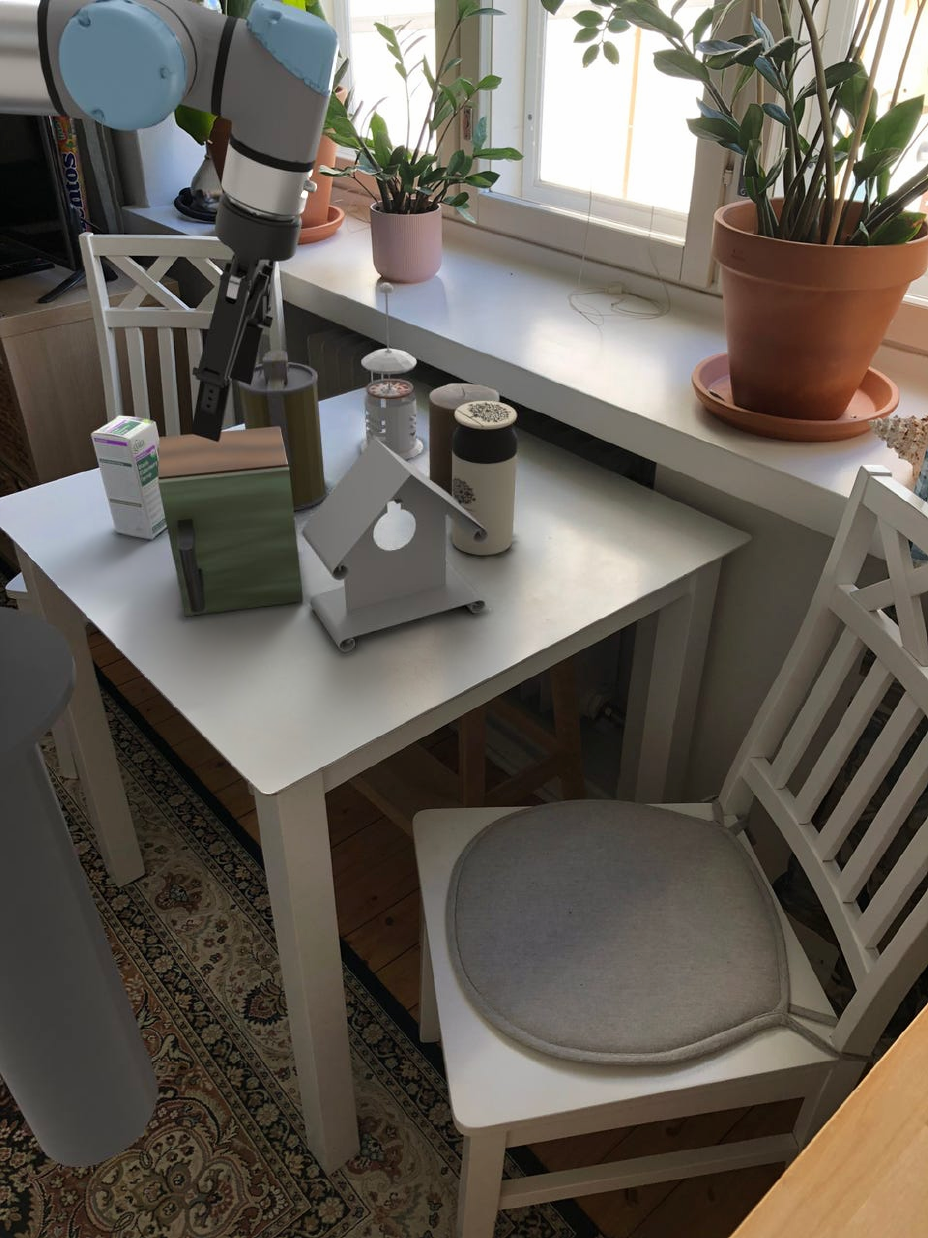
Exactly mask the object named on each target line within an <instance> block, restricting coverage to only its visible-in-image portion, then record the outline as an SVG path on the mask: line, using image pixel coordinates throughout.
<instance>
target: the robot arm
mask: <svg viewBox="0 0 928 1238" xmlns="http://www.w3.org/2000/svg"><path fill="white" fill-rule="evenodd" d="M339 51H340V40H339V37H338V33H337V32H336V30H335V29H334V28H333V26H332V25H331V24H329V23H328V22H327V21H325V20H324V19H322V18H321V17H318V16H317V15H315V14H313V13H310V12H309V11H306V10H304V9H302V8H299V7H296V6H294V5H290V4H285V3H282V2H280V1H277V0H255V1H254V2H253V3H252V5H251V8H250V11H249V14H248V15H247V16H246V19H243V18H240V17H239V18H236V17H234V16H232V15H231V16H229V15H227V14H224V13H221V12H218V11H216V10H213V9H210V8H208V7H206V6H203V5H200V4H198V3H195V2H193V1H190V0H0V114H4V115H5V114H9V115H22V116H23V115H25V116H42V117H43V116H45V117H62V118H71V119H77V120H94V121H96V122H98V123H100V124H102V125H103V126H106V127H108V128H111V129H114V130H120V131H137V130H140V129H142V130H143V129H149V128H150V129H151V128H152V127H155V126H157V125H159V124H161V123H162V122H164V121H166V119H167V118H168V117H169V116H170V115H171V114H173V113H174V112H175V110H176V109H177V107H179V105H182V106H185V107H188V108H191V109H194V110H197V111H201V112H204V113H206V114H210V115H212V116H214V117H216V118H217V117H218V118H219V119H225V120H228V121H231V131H230V134H229V139H228V145H227V150H226V155H225V161H224V167H223V172H222V177H221V188H222V191H224V192H223V193H222V194H221V195H220V196H219V200H218V205H217V206H218V208H217V213H216V218H215V225H214V232H215V235H216V237H217V239H218V241H220V242H221V243H222V244H223V245H224V246H227V248H229V249H230V250H231V251H232V252H233V255H232V257H231V261H227V262H226V263H225V267H224V270H223V271H222V274H220V276H219V285H218V290H217V297H216V300H215V304H214V309H213V310H212V311H213V312H212V316H211V319H210V322H209V327H208V330H207V334H206V337H205V341H204V345H203V349H202V353H201V356H200V360H199V364H198V367H196V366H193V368H192V376H195V379H196V381H197V380H198V381H199V385H198V390H197V391H198V392H197V397H196V403H195V409H194V415H193V420H192V427H191V431H190V434H194V435H197V436H200V437H203V438H206V439H210V440H213V441H216V442H219V440H220V437H221V432H223V426H224V422H225V416H226V410H227V407H228V402H229V401H228V400H229V396H230V391H231V385H232V380H235V381H236V382H237V381H240V382H243V383H246V384H249V385H251V383H252V381H253V376H254V371H255V366H256V365H257V361H258V356H259V351H260V347H261V343H262V337H263V333H264V328H263V327H266V328H268V329H271V326H272V325H273V321H274V317H273V316H269V313H270V312H271V310H272V298H273V291H274V290H273V289H274V282H275V274H276V273H275V272H276V265H277V262H285V261H288V260H290V259H292V258H293V257H295V254H296V251H297V248H298V243H299V239H300V234H301V229H302V224H303V220H302V218H301V215H300V214H302V213H303V212H304V211H305V208H306V204H307V199H308V195H309V193H310V194H314V193H316V191H317V189H318V187H317V183H316V182H315V181H313V180H310V178H311V177H312V175H313V172H314V168H315V164H316V160H317V156H318V151H319V147H320V142H321V139H322V134H323V129H324V126H325V121H326V117H327V113H328V109H329V105H330V101H331V96H332V91H333V85H334V80H335V73H336V67H337V62H338V57H339ZM261 326H263V327H261Z"/></svg>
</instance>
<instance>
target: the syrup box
mask: <svg viewBox="0 0 928 1238" xmlns="http://www.w3.org/2000/svg"><path fill="white" fill-rule="evenodd" d="M90 437H91V440H92V444H93V448H94V452H95V456H96V459H97V460H96V461H97V463H98V467H99V472H100V475H101V479H102V483H103V487H104V490H105V495H106V498H107V501H108V505H109V510H110V514H111V517H112V521H113V526H114V529H115V531H116V533H118V534H122V535H126V536H130V537H135V538H140V539H145V540H154V539H155V538H156V536H158V535H159V534H160V533H161V532H162V531H164V530H165V529H167V524H166V519H165V514H164V509H163V505H162V500H161V495H160V490H159V485H158V461H159V437H160V436H159V432H158V426H157V423H156V421H154V420H151V419H147V418H143V417H139V416H132V415H131V416H129V415H117V416H116V417H115V418H114V419H112V420H111V421H110V422H108V423H106V424H104V425H103V426H101V427H99V428H98V429H96V430H94V431H92V432H91V433H90Z"/></svg>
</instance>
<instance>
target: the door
mask: <svg viewBox="0 0 928 1238" xmlns="http://www.w3.org/2000/svg"><path fill="white" fill-rule="evenodd" d="M158 485H159V490H160V495H161V500H162V505H163V509H164V514H165V519H166V524H167V527H166V529H167V533H168V538H169V544H170V548H171V554H172V559H173V563H174V569H175V572H176V573H175V574H176V578H177V583H178V587H179V592H180V598H181V603H182V607H183V612H184V617H190V616H198V615H199V616H200V615H206V614H215V613H223V612H228V611H229V612H230V611H238V610H245V609H252V608H261V607H268V606H276V605H284V604H291V603H300V602H304V595H303V586H302V576H301V567H300V556H299V548H298V540H297V529H296V522H295V521H296V520H295V514H294V513H295V511H293V501H292V492H291V483H290V474H289V467H280V468H270V469H260V470H250V471H240V472H230V473H220V474H210V475H200V476H190V477H180V478H170V479H159V480H158Z"/></svg>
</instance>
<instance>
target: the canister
mask: <svg viewBox="0 0 928 1238" xmlns="http://www.w3.org/2000/svg"><path fill="white" fill-rule="evenodd" d="M318 376H319V375H318V373H317V371H316V370H315V369H314V368H312V367H311V366H309V365H307V364H302V363H298V362H291V361H289V357H288V352H286V351H285V350H269V351H267V352H266V353H264V356H263V357H262V363H259V364H256V366H255V371H254V376H253V381H252V383H251V385H249V384H246V383H243V382H240V381H237V380H236V382H237V385H238V386H239V391H240V400H241V406H242V414H243V421H244V430H245V429H256V428H267V427H278V426H280V430H281V434H282V439H283V444H284V448H285V453H286V457H287V462H288V467H289V474H290V483H291V492H292V501H293V511H294V512H295V511H302V510H306V509H309V508H311V507H315V506H316V505H318V504H319V503H321V502H322V501H323V500H325V498H326V497H327V494H328V486H327V485H326V483H325V470H324V457H323V446H322V445H323V443H322V432H321V418H320V407H319V394H318V393H319V392H318V383H317V382H318V379H319V378H318Z"/></svg>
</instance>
